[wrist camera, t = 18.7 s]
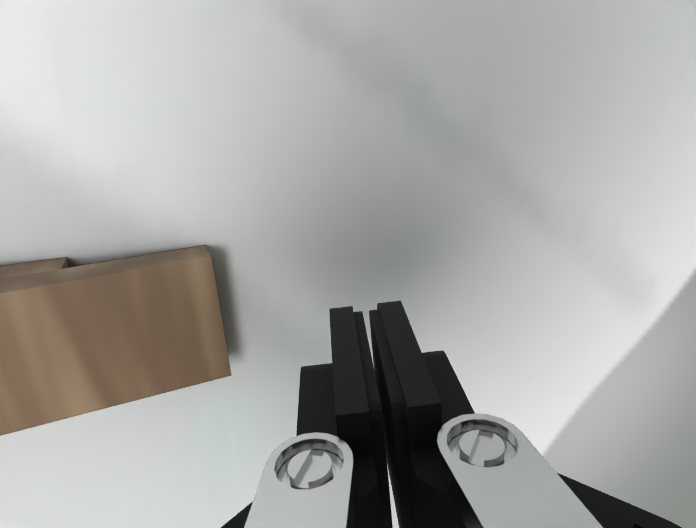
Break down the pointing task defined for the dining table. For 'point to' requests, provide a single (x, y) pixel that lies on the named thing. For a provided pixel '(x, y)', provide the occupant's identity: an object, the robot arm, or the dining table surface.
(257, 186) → the dining table surface
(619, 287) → the dining table surface
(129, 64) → the dining table surface
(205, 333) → the domino
